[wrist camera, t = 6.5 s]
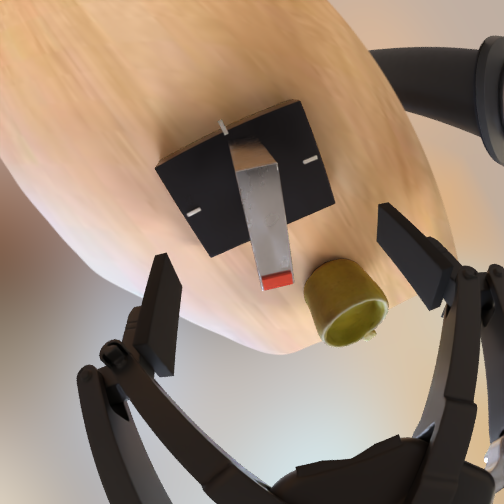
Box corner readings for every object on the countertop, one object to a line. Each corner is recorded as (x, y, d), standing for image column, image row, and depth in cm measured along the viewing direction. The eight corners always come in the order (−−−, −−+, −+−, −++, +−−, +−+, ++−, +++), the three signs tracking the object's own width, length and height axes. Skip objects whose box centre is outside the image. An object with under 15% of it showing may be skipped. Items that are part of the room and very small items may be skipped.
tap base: (288, 88, 22) (296, 89, 20) (329, 202, 29) (338, 213, 27) (153, 151, 24) (147, 158, 22) (215, 252, 31) (215, 266, 29)
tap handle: (227, 140, 22) (235, 172, 14) (255, 134, 22) (278, 163, 14) (247, 229, 27) (262, 293, 20) (271, 223, 27) (295, 285, 20)
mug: (277, 288, 33) (330, 345, 26) (338, 234, 33) (398, 278, 26) (304, 325, 41) (345, 370, 34) (352, 282, 42) (396, 320, 35)
